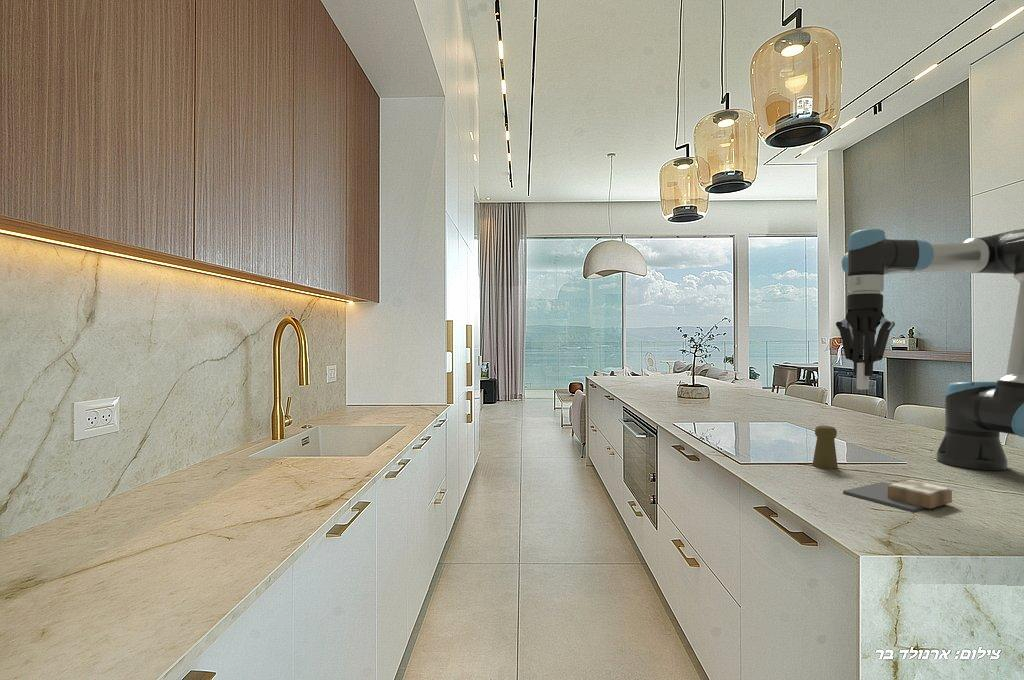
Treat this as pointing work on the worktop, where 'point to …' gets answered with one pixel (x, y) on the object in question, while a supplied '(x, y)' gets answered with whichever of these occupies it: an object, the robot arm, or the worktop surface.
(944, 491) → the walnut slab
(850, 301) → the robot arm
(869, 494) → the mat
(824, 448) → the cork
